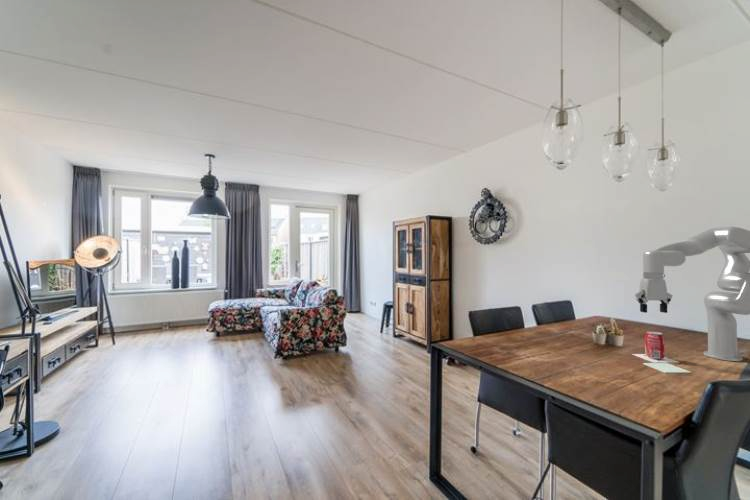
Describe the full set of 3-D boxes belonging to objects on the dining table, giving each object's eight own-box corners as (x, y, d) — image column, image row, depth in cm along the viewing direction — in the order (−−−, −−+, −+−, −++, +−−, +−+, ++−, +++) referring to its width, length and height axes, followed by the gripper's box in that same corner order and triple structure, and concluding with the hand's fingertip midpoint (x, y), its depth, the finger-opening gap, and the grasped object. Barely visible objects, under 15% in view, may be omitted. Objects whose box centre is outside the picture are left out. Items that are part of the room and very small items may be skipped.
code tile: (655, 354, 156) (655, 353, 156) (679, 362, 144) (679, 362, 144) (632, 354, 156) (632, 353, 156) (653, 362, 144) (653, 362, 144)
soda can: (657, 355, 154) (656, 331, 154) (669, 360, 146) (668, 334, 147) (641, 355, 154) (641, 330, 154) (652, 360, 147) (652, 334, 147)
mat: (666, 363, 143) (666, 362, 143) (691, 372, 132) (691, 371, 132) (642, 364, 143) (642, 363, 143) (665, 373, 132) (665, 372, 132)
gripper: (663, 276, 155) (664, 311, 155) (629, 275, 155) (629, 310, 154) (678, 277, 147) (679, 313, 147) (642, 276, 147) (642, 313, 147)
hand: (653, 312), depth 151 cm, fingers open, 9 cm apart
